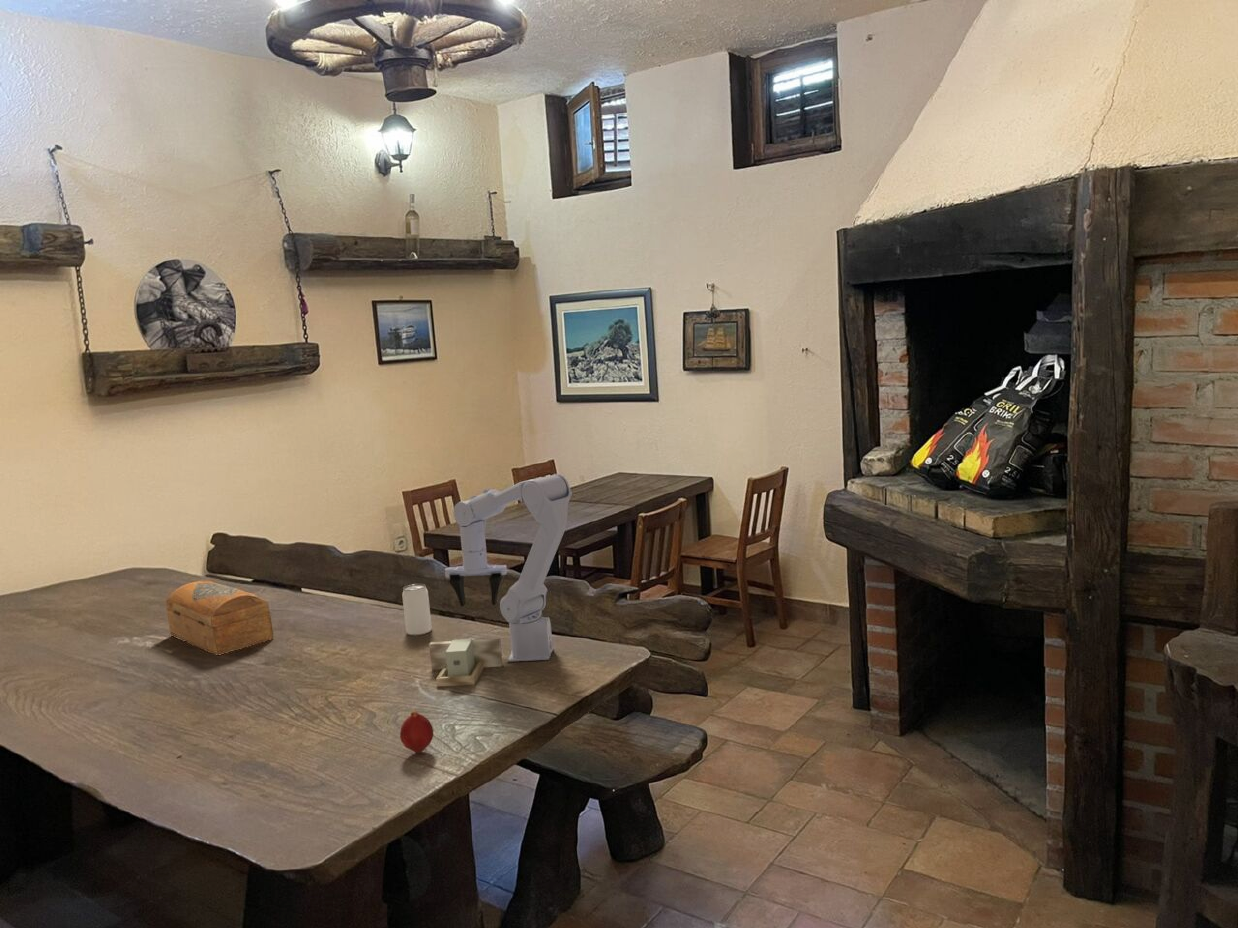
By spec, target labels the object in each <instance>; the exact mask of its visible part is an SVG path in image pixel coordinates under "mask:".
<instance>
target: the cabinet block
mask: <svg viewBox="0 0 1238 928" xmlns="http://www.w3.org/2000/svg"><path fill="white" fill-rule="evenodd" d="M472 640H473V638H461V639H460V638H458V639H452V640H451V641H452V642H451V644H450V645H449V647H448V649H447V651H446V661H447V670H448V676H447V677H452V676H471V674H472V672H473V671H474V669H475V661H474V651H473V641H472Z"/></svg>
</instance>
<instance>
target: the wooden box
mask: <svg viewBox="0 0 1238 928" xmlns="http://www.w3.org/2000/svg"><path fill="white" fill-rule="evenodd" d="M166 612H167V619H168V628H169V633H170V636H171V635H173V636H175V637H178V638H180V639H182V640H185V641H187V642H189V643H191V644H193V645H195V646H197V647H199V648H198V649H200V648H201V650H202V649H205V650H207V651H210V652H212V653H214V654H217V655H219V654H222V653H226V652H229V651H231V650H235V649H240V648H243V647H247V646H250V645H253V644H257V643H260V642H263V643H265V642H264V641H267V640H270V639H273V638H274V630H273V622H272V615H271V611H270V607H269V603H268V601H266V600H264V599H263V598H261V597H260V596H258V595H256V594H254V593H251V592H247V591H244V590H241V589H239V588H236V587H232V586H229V585H225V584H221V583H217V582H213V581H212V580H211V581H210V580H198V581H193V582H189V583H186V584H183V585H181V586H180V587H178V588H176V589H175V590H173V591H172V592H171V594H170V595H168V597H167V599H166ZM273 640H274V639H273ZM270 641H271V640H270ZM267 642H268V641H267ZM260 644H261V643H260ZM193 645H192V646H193ZM257 645H258V644H257ZM195 646H194V647H195ZM197 647H196V648H197ZM250 647H251V646H250ZM247 648H248V647H247ZM207 651H206V652H207ZM214 654H213V655H214Z"/></svg>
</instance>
